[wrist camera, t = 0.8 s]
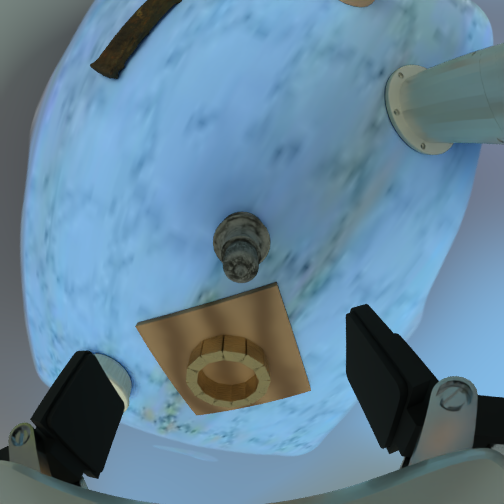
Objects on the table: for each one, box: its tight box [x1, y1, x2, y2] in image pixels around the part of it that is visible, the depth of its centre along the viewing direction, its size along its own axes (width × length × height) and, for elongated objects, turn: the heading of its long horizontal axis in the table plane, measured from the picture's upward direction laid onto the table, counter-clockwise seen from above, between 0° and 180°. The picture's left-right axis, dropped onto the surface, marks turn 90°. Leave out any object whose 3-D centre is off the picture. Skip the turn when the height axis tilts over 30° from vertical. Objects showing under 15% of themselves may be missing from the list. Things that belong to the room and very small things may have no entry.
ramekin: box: [94, 354, 132, 412], centre depth 36 cm, size 11×11×5 cm
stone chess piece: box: [213, 212, 270, 283], centre depth 25 cm, size 6×6×12 cm
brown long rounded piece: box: [90, 0, 182, 79], centre depth 20 cm, size 19×4×5 cm, turn 143°
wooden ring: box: [186, 334, 271, 408], centre depth 34 cm, size 11×11×4 cm
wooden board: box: [135, 282, 311, 415], centre depth 36 cm, size 20×20×1 cm
